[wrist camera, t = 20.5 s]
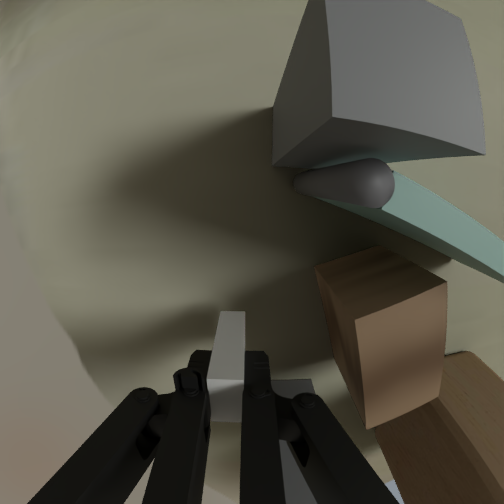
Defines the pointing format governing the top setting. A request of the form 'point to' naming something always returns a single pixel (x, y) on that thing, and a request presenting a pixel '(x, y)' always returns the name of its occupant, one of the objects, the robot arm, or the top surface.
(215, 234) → the top surface
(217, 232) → the top surface
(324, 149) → the hinge post
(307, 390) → the post
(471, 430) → the wooden block
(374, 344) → the brown rectangular block
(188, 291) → the top surface
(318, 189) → the gate
